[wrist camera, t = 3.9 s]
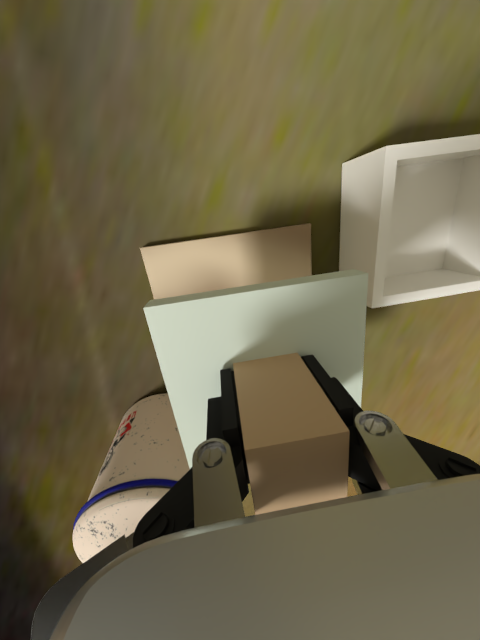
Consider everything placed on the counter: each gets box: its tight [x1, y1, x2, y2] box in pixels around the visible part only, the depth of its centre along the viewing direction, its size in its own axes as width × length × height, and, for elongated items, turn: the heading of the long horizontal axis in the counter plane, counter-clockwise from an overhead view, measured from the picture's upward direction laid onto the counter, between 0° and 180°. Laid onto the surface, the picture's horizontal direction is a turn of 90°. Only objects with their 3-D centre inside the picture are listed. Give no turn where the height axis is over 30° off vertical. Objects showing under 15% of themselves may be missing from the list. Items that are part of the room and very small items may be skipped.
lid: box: [143, 269, 368, 515], centre depth 11 cm, size 10×10×6 cm
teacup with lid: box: [73, 393, 190, 563], centre depth 19 cm, size 12×9×12 cm
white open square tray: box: [339, 134, 480, 308], centre depth 17 cm, size 9×9×4 cm
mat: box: [140, 223, 312, 300], centre depth 20 cm, size 12×12×1 cm
